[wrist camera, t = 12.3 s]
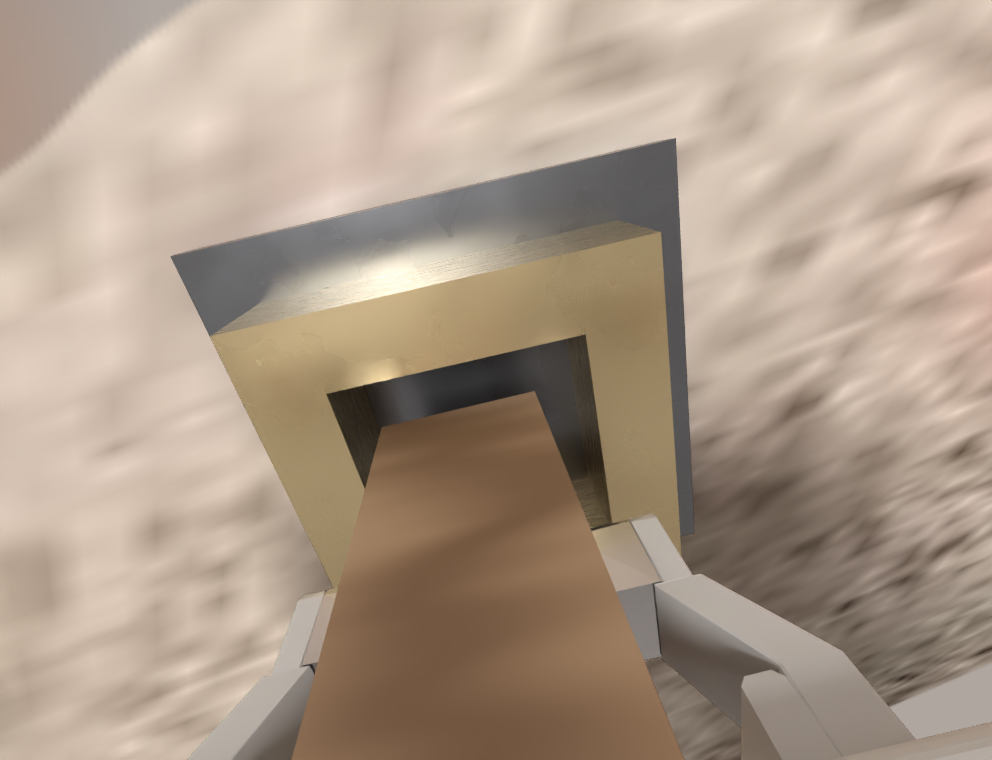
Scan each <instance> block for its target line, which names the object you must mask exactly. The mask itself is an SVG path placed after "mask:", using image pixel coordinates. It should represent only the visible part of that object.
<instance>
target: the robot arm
mask: <svg viewBox="0 0 992 760" xmlns="http://www.w3.org/2000/svg"><path fill="white" fill-rule="evenodd" d="M591 531H592V533H593V536H594V538H595V541H596V543H597V546H598V548H599V551H600V553H601V556H602V558H603V561H604V563H605V565H606V568H607V570H608V573H609V575H610V578H611V580H612V583H613V585H614V588H615V590H616V593H617V595H618V597H619V600H620V602H621V605H622V607H623V610H624V612H625V615H626V617H627V620H628V622H629V625H630V627H631V629H632V632H633V634H634V637H635V639H636V642H637V644H638V647H639V649H640V652H641V654H642V657H643V659H644V660H646V659H651V658H656V657H661V656H662V659H663V660H664V661H665V662H666V663H667V664H669V665H670V666H671V667H672V668H673V669H674V670H675V671H676V672H678V673H679V674H680V675H681V676H682V677H683V678H684V679H686V680H687V681H688V682H689V683H690V684H691V685H692V686H694V687H695V688H696V689H697V690H698V691H699V692H700V693H702V694H703V695H704V696H705V697H706V698H707V699H708V700H710V701H711V702H712V703H713V704H714V705H715V706H716V707H718V708H719V709H720V710H721V711H722V712H723V713H724V714H726V715H727V716H728V717H729V718H730V719H731V720H732V721H734V722H735V723H736V724H737V725H738V726H739V727H740V728H741V760H992V722H989V723H985V724H981V725H977V726H972V727H968V728H964V729H959V730H955V731H951V732H947V733H942V734H938V735H934V736H930V737H926V738H921V739H917V740H916V739H915V738H914V736H913V735H912V734H911V733H910V732H909V730H908V729H907V728H906V727H905V726H904V724H903V723H902V722H901V721H900V720H899V718H898V717H897V716H896V715H895V714H894V712H893V711H892V710H891V709H890V708H889V706H888V705H887V704H886V703H885V702H884V700H883V699H882V698H881V697H880V696H879V694H878V693H877V692H876V691H875V690H874V688H873V687H872V686H871V685H870V684H869V682H868V681H867V680H866V679H865V678H864V676H863V675H862V674H861V673H860V672H859V670H858V669H857V668H856V667H855V665H854V664H853V663H852V662H851V661H850V659H849V658H848V657H847V656H846V655H845V653H844V652H843V651H841V650H840V649H838V648H836V647H834V646H832V645H831V644H829V643H827V642H825V641H823V640H821V639H820V638H818V637H816V636H814V635H812V634H810V633H809V632H807V631H805V630H803V629H801V628H799V627H798V626H796V625H794V624H792V623H790V622H789V621H787V620H785V619H783V618H781V617H779V616H778V615H776V614H774V613H772V612H770V611H768V610H767V609H765V608H763V607H761V606H759V605H758V604H756V603H754V602H752V601H750V600H748V599H747V598H745V597H743V596H741V595H739V594H737V593H736V592H734V591H732V590H730V589H728V588H726V587H725V586H723V585H721V584H719V583H717V582H716V581H714V580H712V579H710V578H708V577H706V576H705V575H703V574H696V575H692V573H691V571H690V570H689V568H688V566H687V565H686V563H685V562H684V560H683V558H682V557H681V555H680V554H679V552H678V550H677V549H676V547H675V546H674V544H673V542H672V541H671V539H670V538H669V536H668V534H667V533H666V531H665V530H664V528H663V526H662V525H661V523H660V521H659V520H658V518H657V517H656V516H655V515H654V514H652V513H650V514H646V515H642V516H638V517H634V518H630V519H628V520H623V521H619V522H615V523H611V524H607V525H603V526H599V527H595V528H591ZM337 590H338V587H337V588H332V589H328V590H326V591H321V592H316V593H311V594H306V595H303V596H302V598H301V599H300V600H299V601H298V603H297V605H296V608H295V611H294V613H293V616H292V619H291V622H290V624H289V627H288V630H287V633H286V635H285V638H284V641H283V644H282V646H281V649H280V652H279V655H278V657H277V660H276V663H275V666H274V668H273V671H272V674H270V675H266V676H263V677H262V678H261V680H260V681H259V682H258V683H257V684H256V685H255V686H254V687H253V688H252V689H251V690H250V691H249V693H248V694H247V695H246V696H245V697H244V698H243V699H242V700H241V701H240V702H239V703H238V705H237V706H236V707H235V708H234V709H233V710H232V711H231V712H230V713H229V714H228V715H227V716H226V718H225V719H224V720H223V721H222V722H221V723H220V724H219V725H218V726H217V727H216V728H215V729H214V731H213V732H212V733H211V734H210V735H209V736H208V737H207V738H206V739H205V740H204V741H203V743H202V744H201V745H200V746H199V747H198V748H197V749H196V750H195V751H194V752H193V753H192V754H191V756H190V757H189V758H188V759H187V760H291V759H292V756H293V752H294V748H295V745H296V741H297V737H298V734H299V730H300V726H301V723H302V719H303V715H304V712H305V708H306V704H307V701H308V697H309V693H310V690H311V686H312V682H313V679H314V675H315V671H316V667H317V664H318V660H319V656H320V653H321V649H322V645H323V642H324V638H325V634H326V631H327V627H328V623H329V620H330V616H331V612H332V609H333V605H334V601H335V598H336V594H337Z"/></svg>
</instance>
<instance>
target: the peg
mask: <svg viewBox="0 0 992 760" xmlns="http://www.w3.org/2000/svg"><path fill="white" fill-rule="evenodd" d="M291 760H684V757H683V755H682V753H681V750H680V748H679V745H678V743H677V740H676V738H675V735H674V733H673V730H672V728H671V725H670V723H669V721H668V718H667V716H666V713H665V711H664V708H663V706H662V703H661V701H660V698H659V696H658V693H657V691H656V689H655V686H654V684H653V681H652V679H651V676H650V674H649V671H648V669H647V666H646V664H645V661H644V659H643V657H642V654H641V652H640V649H639V647H638V644H637V642H636V639H635V637H634V634H633V632H632V629H631V627H630V625H629V622H628V620H627V617H626V615H625V612H624V610H623V607H622V605H621V602H620V600H619V597H618V595H617V593H616V590H615V588H614V585H613V583H612V580H611V578H610V575H609V573H608V570H607V568H606V565H605V563H604V561H603V558H602V556H601V553H600V551H599V548H598V546H597V543H596V541H595V538H594V536H593V533H592V531H591V529H590V526H589V524H588V521H587V519H586V516H585V514H584V511H583V509H582V506H581V504H580V501H579V499H578V497H577V494H576V492H575V489H574V487H573V484H572V482H571V479H570V477H569V474H568V472H567V469H566V467H565V464H564V462H563V460H562V457H561V455H560V452H559V450H558V447H557V445H556V442H555V440H554V437H553V435H552V432H551V430H550V428H549V425H548V423H547V420H546V418H545V415H544V413H543V410H542V408H541V405H540V403H539V400H538V398H537V396H536V393H535V391H533V392H528V393H524V394H520V395H516V396H511V397H507V398H503V399H499V400H495V401H490V402H486V403H482V404H478V405H473V406H469V407H465V408H461V409H457V410H452V411H448V412H444V413H440V414H435V415H431V416H427V417H423V418H419V419H414V420H410V421H406V422H402V423H398V424H393V425H389V426H385V427H382V428H381V432H380V436H379V439H378V443H377V447H376V451H375V454H374V458H373V462H372V465H371V469H370V473H369V476H368V480H367V484H366V487H365V491H364V495H363V498H362V502H361V506H360V509H359V513H358V517H357V520H356V524H355V528H354V531H353V535H352V539H351V542H350V546H349V550H348V553H347V557H346V561H345V565H344V568H343V572H342V576H341V579H340V583H339V587H338V590H337V594H336V598H335V601H334V605H333V609H332V612H331V616H330V620H329V623H328V627H327V631H326V634H325V638H324V642H323V645H322V649H321V653H320V656H319V660H318V664H317V667H316V671H315V675H314V679H313V682H312V686H311V690H310V693H309V697H308V701H307V704H306V708H305V712H304V715H303V719H302V723H301V726H300V730H299V734H298V737H297V741H296V745H295V748H294V752H293V756H292V759H291Z"/></svg>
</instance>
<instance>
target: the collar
mask: <svg viewBox="0 0 992 760" xmlns="http://www.w3.org/2000/svg"><path fill="white" fill-rule="evenodd" d="M171 258H172V261H173V263H174V265H175V267H176V269H177V271H178V273H179V275H180V277H181V279H182V281H183V283H184V285H185V287H186V289H187V291H188V293H189V295H190V297H191V299H192V301H193V303H194V305H195V307H196V309H197V311H198V313H199V315H200V317H201V319H202V321H203V323H204V326H205V328H206V330H207V332H208V334H209V336H210V338H211V340H212V342H213V344H214V346H215V348H216V350H217V352H218V354H219V356H220V358H221V360H222V362H223V364H224V366H225V368H226V371H227V373H228V375H229V377H230V379H231V381H232V383H233V385H234V387H235V389H236V391H237V393H238V395H239V397H240V399H241V401H242V403H243V405H244V407H245V409H246V411H247V413H248V415H249V417H250V419H251V421H252V423H253V425H254V427H255V429H256V431H257V433H258V435H259V438H260V440H261V442H262V444H263V446H264V448H265V450H266V452H267V454H268V456H269V458H270V460H271V462H272V464H273V466H274V468H275V470H276V472H277V474H278V476H279V478H280V480H281V482H282V484H283V486H284V488H285V490H286V492H287V494H288V496H289V498H290V500H291V502H292V505H293V507H294V509H295V511H296V513H297V515H298V517H299V519H300V521H301V523H302V525H303V527H304V529H305V531H306V533H307V535H308V537H309V539H310V541H311V543H312V545H313V547H314V549H315V551H316V553H317V555H318V557H319V559H320V561H321V563H322V565H323V567H324V569H325V572H326V574H327V576H328V578H329V580H330V582H331V584H332V586H333V588H337V587H339V583H340V579H341V576H342V572H343V568H344V565H345V561H346V557H347V553H348V550H349V546H350V542H351V539H352V535H353V531H354V528H355V524H356V520H357V517H358V513H359V509H360V506H361V502H362V498H363V495H364V491H365V487H366V484H367V480H368V476H369V473H370V469H371V465H372V462H373V458H374V454H375V451H376V447H377V443H378V439H379V436H380V432H381V428H382V427H385V426H389V425H393V424H398V423H402V422H406V421H410V420H414V419H419V418H423V417H427V416H431V415H435V414H440V413H444V412H448V411H452V410H457V409H461V408H465V407H469V406H473V405H478V404H482V403H486V402H490V401H495V400H499V399H503V398H507V397H511V396H516V395H520V394H524V393H528V392H533V391H535V393H536V396H537V398H538V400H539V403H540V405H541V408H542V410H543V413H544V415H545V418H546V420H547V423H548V425H549V428H550V430H551V432H552V435H553V437H554V440H555V442H556V445H557V447H558V450H559V452H560V455H561V457H562V460H563V462H564V464H565V467H566V469H567V472H568V474H569V477H570V479H571V482H572V484H573V487H574V489H575V492H576V494H577V497H578V499H579V501H580V504H581V506H582V509H583V511H584V514H585V516H586V519H587V521H588V524H589V526H590V529H591V528H595V527H599V526H603V525H607V524H611V523H615V522H619V521H623V520H628V519H630V518H634V517H638V516H642V515H646V514H650V513H652V514H654V515H655V516H656V517H657V518H658V520H659V521H660V523H661V525H662V526H663V528H664V530H665V531H666V533H667V534H668V536H669V538H670V539H671V541H672V542H673V544H674V546H675V547H676V549H677V550H678V552H679V554H680V555H681V557H682V554H681V538H680V536H684V535H689V534H693V533H694V514H693V493H692V472H691V451H690V430H689V409H688V388H687V366H686V345H685V324H684V303H683V282H682V261H681V239H680V218H679V197H678V176H677V155H676V138H674V139H668V140H662V141H657V142H653V143H649V144H644V145H640V146H636V147H632V148H627V149H623V150H619V151H614V152H610V153H606V154H602V155H597V156H593V157H589V158H584V159H580V160H576V161H572V162H567V163H563V164H559V165H554V166H550V167H546V168H542V169H537V170H533V171H529V172H525V173H520V174H516V175H512V176H507V177H503V178H499V179H495V180H490V181H486V182H482V183H477V184H473V185H469V186H465V187H460V188H456V189H452V190H447V191H443V192H439V193H435V194H430V195H426V196H422V197H417V198H413V199H409V200H405V201H400V202H396V203H392V204H388V205H383V206H379V207H375V208H370V209H366V210H362V211H358V212H353V213H349V214H345V215H340V216H336V217H332V218H328V219H323V220H319V221H315V222H310V223H306V224H302V225H298V226H293V227H289V228H285V229H281V230H276V231H272V232H268V233H263V234H259V235H255V236H251V237H246V238H242V239H238V240H233V241H229V242H225V243H221V244H216V245H212V246H208V247H203V248H199V249H195V250H191V251H187V252H183V253H180V254H177V255H173V256H171Z"/></svg>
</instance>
